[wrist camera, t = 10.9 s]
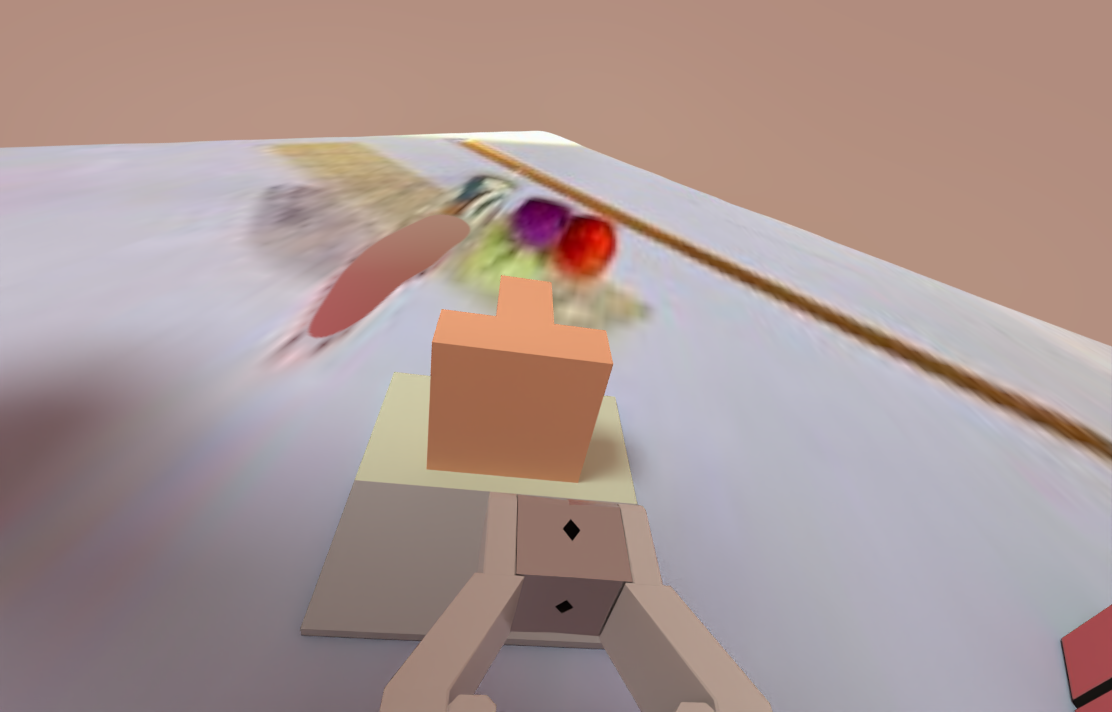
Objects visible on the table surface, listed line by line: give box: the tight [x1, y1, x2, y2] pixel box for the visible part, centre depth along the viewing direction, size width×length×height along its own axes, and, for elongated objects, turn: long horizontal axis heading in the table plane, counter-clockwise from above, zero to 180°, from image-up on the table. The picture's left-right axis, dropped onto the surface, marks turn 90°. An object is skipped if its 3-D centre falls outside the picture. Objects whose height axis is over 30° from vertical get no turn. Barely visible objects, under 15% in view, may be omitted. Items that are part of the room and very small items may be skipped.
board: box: [300, 372, 637, 649], centre depth 33 cm, size 18×20×1 cm
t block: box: [427, 275, 613, 483], centre depth 34 cm, size 10×9×10 cm
